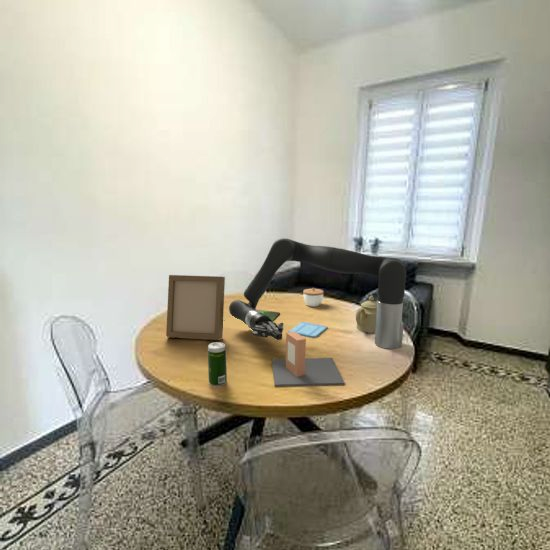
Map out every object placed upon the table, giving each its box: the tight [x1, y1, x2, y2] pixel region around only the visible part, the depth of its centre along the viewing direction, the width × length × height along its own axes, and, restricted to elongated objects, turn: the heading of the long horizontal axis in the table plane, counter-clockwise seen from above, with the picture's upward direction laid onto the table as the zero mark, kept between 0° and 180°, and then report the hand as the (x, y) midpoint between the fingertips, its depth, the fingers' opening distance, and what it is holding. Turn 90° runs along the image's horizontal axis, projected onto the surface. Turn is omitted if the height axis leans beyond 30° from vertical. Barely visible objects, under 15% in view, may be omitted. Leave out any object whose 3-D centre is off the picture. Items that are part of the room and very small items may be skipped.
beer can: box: [207, 341, 228, 388], centre depth 103 cm, size 5×5×12 cm
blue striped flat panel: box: [288, 321, 328, 339], centre depth 147 cm, size 14×12×1 cm
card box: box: [285, 331, 307, 377], centre depth 109 cm, size 3×7×12 cm, turn 27°
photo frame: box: [165, 274, 226, 341], centre depth 140 cm, size 15×22×25 cm
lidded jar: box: [302, 287, 325, 308], centre depth 182 cm, size 11×11×9 cm
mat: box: [271, 357, 346, 387], centre depth 111 cm, size 21×17×1 cm
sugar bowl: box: [355, 294, 377, 334], centre depth 146 cm, size 15×11×15 cm
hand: (280, 337), depth 116 cm, fingers closed
